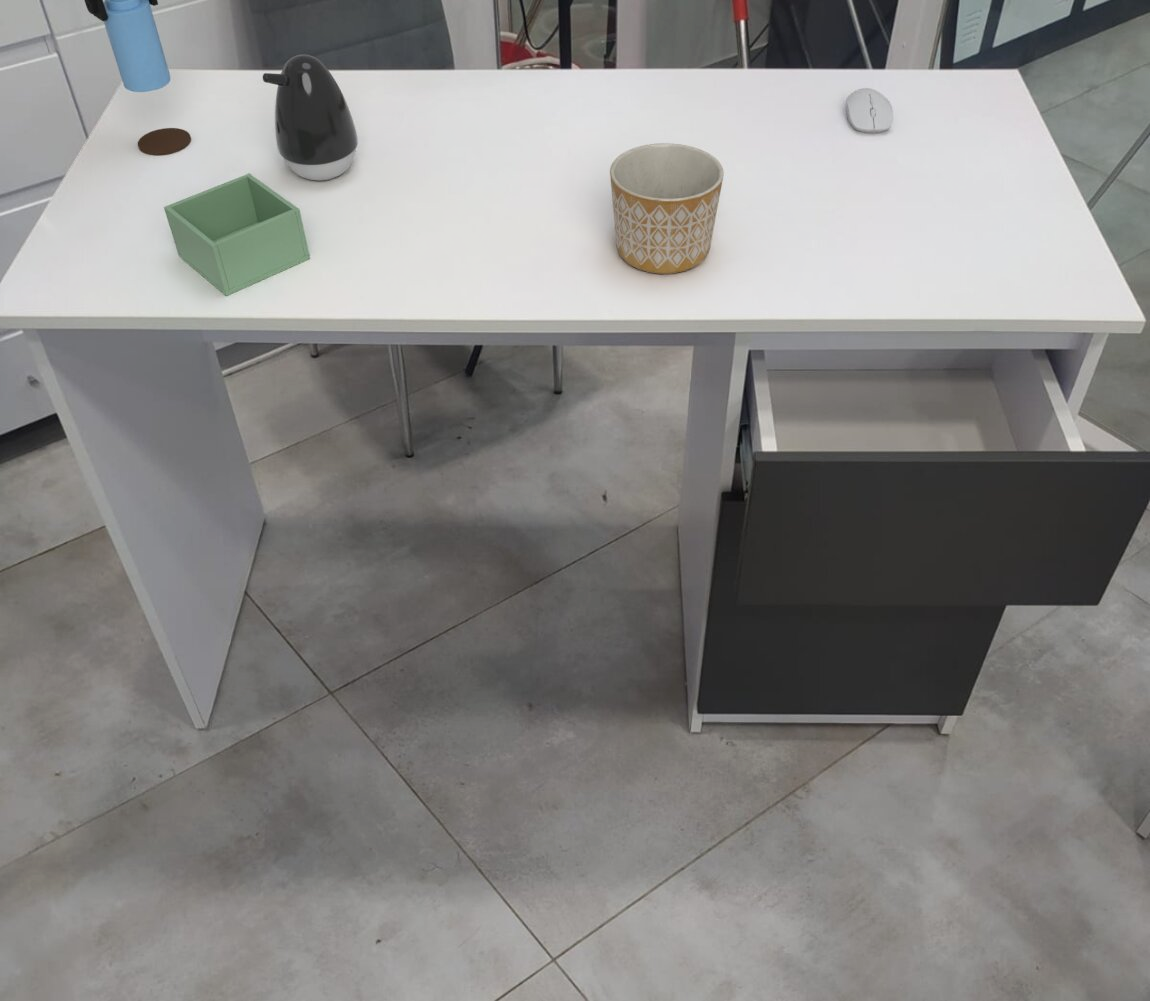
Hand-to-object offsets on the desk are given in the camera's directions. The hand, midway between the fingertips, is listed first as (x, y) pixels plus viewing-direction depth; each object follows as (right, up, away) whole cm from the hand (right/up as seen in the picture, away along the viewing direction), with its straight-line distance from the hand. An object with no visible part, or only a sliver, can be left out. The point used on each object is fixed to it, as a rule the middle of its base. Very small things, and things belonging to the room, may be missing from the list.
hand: (125, 8), depth 139 cm
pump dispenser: (+23, -19, +7) cm, 30 cm away
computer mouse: (+97, -9, +15) cm, 98 cm away
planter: (+67, -32, -8) cm, 75 cm away
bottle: (0, -7, +7) cm, 9 cm away
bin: (+17, -33, -7) cm, 38 cm away
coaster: (0, -13, +13) cm, 18 cm away
